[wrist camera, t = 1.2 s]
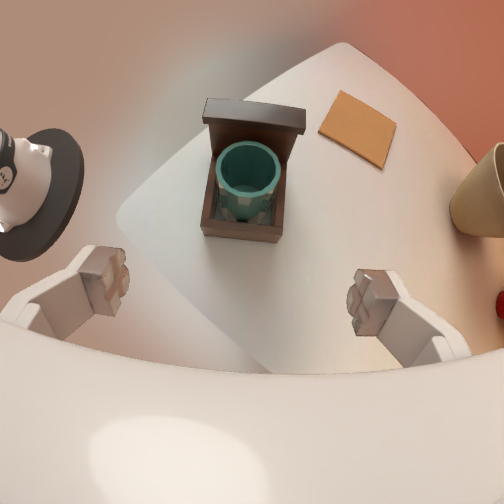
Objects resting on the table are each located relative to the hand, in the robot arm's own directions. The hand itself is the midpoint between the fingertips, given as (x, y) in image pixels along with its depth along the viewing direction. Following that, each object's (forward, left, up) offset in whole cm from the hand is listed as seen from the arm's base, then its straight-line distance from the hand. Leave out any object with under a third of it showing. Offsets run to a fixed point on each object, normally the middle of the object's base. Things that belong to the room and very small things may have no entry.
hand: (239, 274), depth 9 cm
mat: (+5, +34, -26) cm, 43 cm away
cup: (-5, +11, -26) cm, 29 cm away
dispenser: (-5, +12, -26) cm, 29 cm away
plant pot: (+30, +31, -26) cm, 51 cm away
